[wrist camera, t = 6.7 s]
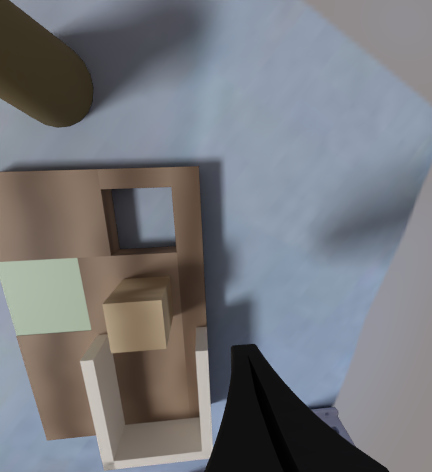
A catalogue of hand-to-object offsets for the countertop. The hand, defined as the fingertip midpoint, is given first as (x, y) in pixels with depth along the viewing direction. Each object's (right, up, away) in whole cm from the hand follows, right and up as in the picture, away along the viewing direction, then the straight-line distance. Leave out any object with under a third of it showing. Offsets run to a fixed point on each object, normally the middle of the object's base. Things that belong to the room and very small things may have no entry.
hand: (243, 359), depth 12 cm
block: (-8, +1, +7) cm, 10 cm away
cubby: (-7, -8, +9) cm, 14 cm away
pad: (-16, +2, +8) cm, 19 cm away
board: (-11, 0, +9) cm, 15 cm away
